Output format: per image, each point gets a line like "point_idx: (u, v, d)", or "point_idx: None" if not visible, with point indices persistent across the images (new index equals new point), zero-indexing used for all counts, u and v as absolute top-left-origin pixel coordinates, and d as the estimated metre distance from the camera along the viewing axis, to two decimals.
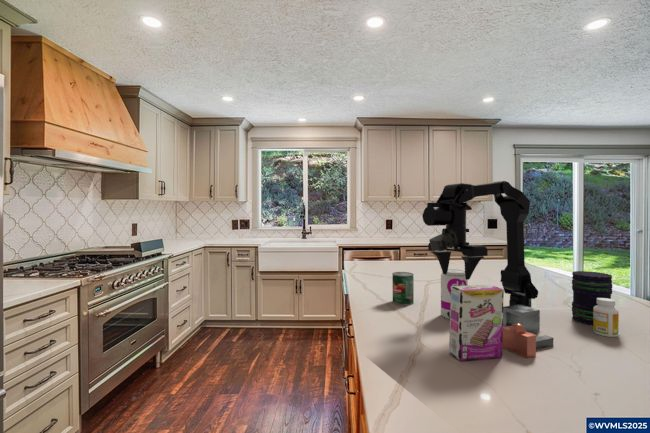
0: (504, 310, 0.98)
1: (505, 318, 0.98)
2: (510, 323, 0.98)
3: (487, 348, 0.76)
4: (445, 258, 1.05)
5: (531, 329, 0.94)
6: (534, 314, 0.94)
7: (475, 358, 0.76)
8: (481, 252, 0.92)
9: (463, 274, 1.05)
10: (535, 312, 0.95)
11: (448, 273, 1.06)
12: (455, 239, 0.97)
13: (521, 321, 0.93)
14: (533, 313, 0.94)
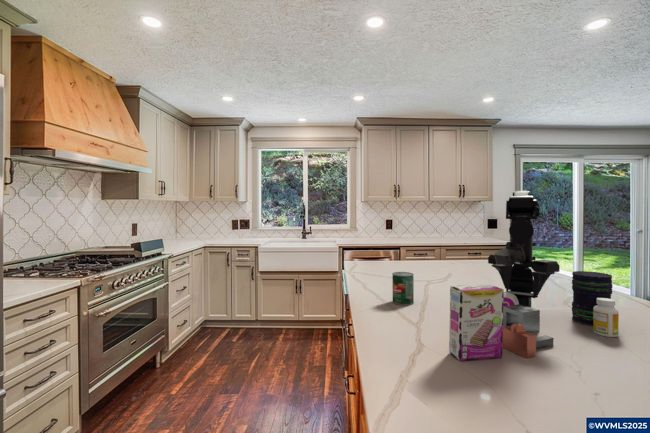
0: (504, 310, 0.98)
1: (505, 318, 0.98)
2: (510, 323, 0.98)
3: (487, 348, 0.76)
4: (507, 271, 1.02)
5: (531, 329, 0.94)
6: (534, 314, 0.94)
7: (475, 358, 0.76)
8: (553, 268, 0.88)
9: None
10: (535, 312, 0.95)
11: (516, 298, 1.05)
12: (523, 254, 0.93)
13: (521, 321, 0.93)
14: (533, 313, 0.94)
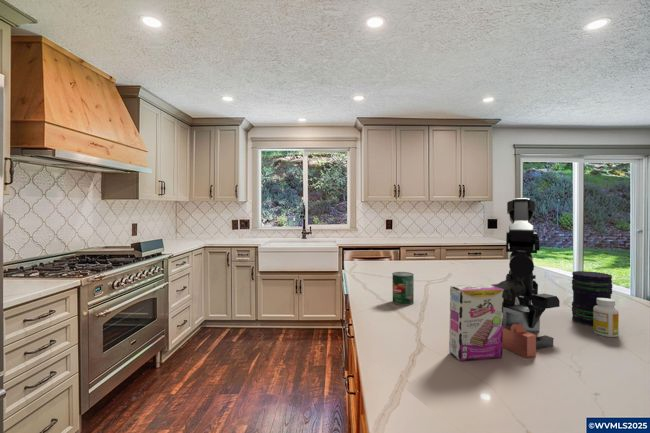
0: (504, 310, 0.98)
1: (505, 318, 0.98)
2: (510, 323, 0.98)
3: (487, 348, 0.76)
4: (510, 303, 1.01)
5: (531, 329, 0.94)
6: None
7: (475, 358, 0.76)
8: (553, 303, 0.88)
9: None
10: None
11: (517, 299, 1.04)
12: (523, 287, 0.93)
13: (521, 321, 0.93)
14: None
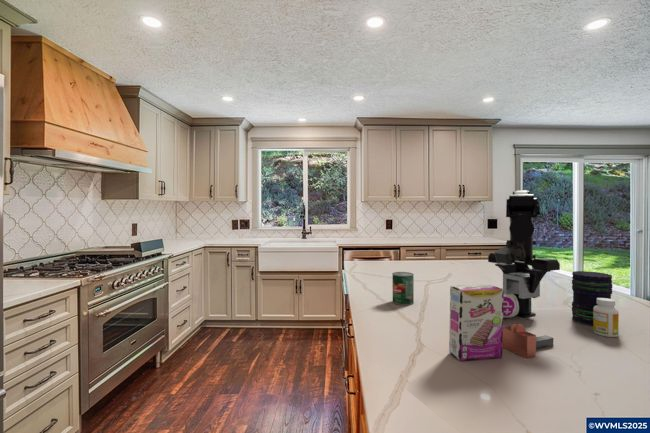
0: (504, 277, 0.98)
1: (505, 285, 0.98)
2: (510, 290, 0.98)
3: (487, 348, 0.76)
4: (511, 271, 1.00)
5: (531, 294, 0.94)
6: None
7: (475, 358, 0.76)
8: (554, 266, 0.88)
9: (516, 312, 1.05)
10: None
11: (515, 298, 1.05)
12: (523, 252, 0.93)
13: (522, 286, 0.93)
14: None
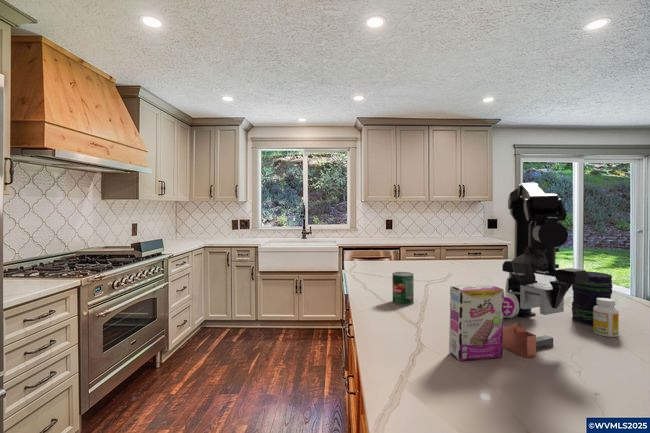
0: (522, 289, 0.85)
1: (523, 298, 0.85)
2: (529, 304, 0.85)
3: (487, 348, 0.76)
4: (529, 281, 0.88)
5: (554, 310, 0.81)
6: None
7: (475, 358, 0.76)
8: (582, 278, 0.76)
9: (516, 313, 1.04)
10: None
11: (515, 298, 1.05)
12: (545, 261, 0.80)
13: (543, 300, 0.80)
14: None
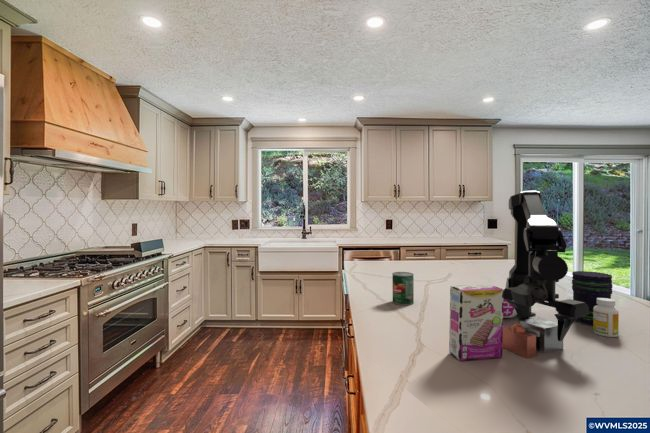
0: (522, 324, 0.85)
1: None
2: None
3: (487, 348, 0.76)
4: (525, 309, 0.89)
5: (554, 347, 0.81)
6: None
7: (475, 358, 0.76)
8: (582, 311, 0.76)
9: (516, 313, 1.04)
10: None
11: None
12: (545, 292, 0.80)
13: (543, 338, 0.80)
14: (556, 329, 0.82)
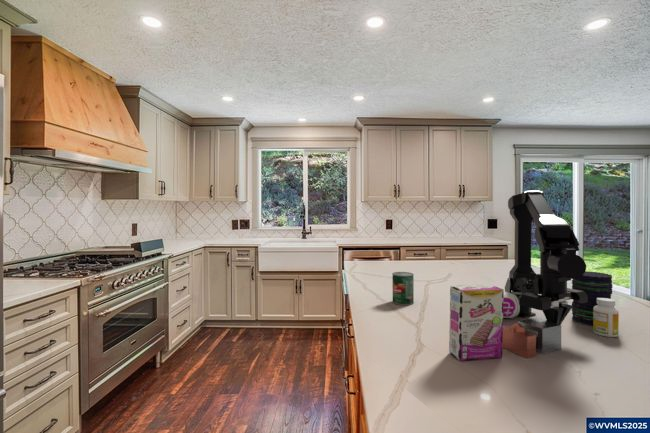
0: None
1: None
2: None
3: (487, 348, 0.76)
4: None
5: (552, 347, 0.81)
6: (555, 330, 0.81)
7: (475, 358, 0.76)
8: (529, 303, 0.82)
9: (517, 313, 1.04)
10: (556, 328, 0.82)
11: (516, 299, 1.05)
12: (535, 285, 0.87)
13: (541, 339, 0.80)
14: (554, 329, 0.81)
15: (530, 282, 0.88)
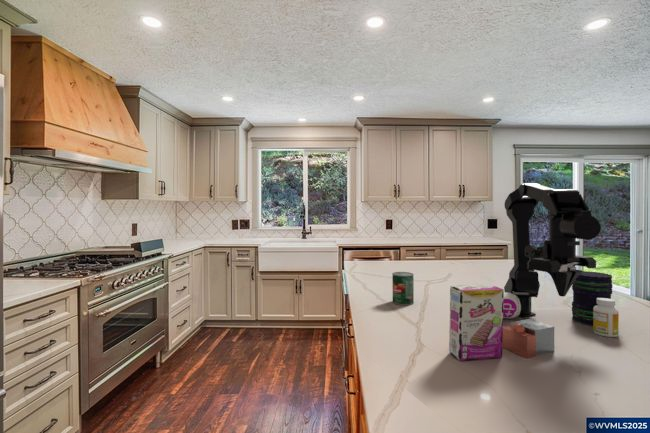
0: None
1: None
2: None
3: (487, 348, 0.76)
4: None
5: (545, 349, 0.80)
6: (548, 332, 0.80)
7: (475, 358, 0.76)
8: (538, 266, 0.83)
9: (517, 315, 1.04)
10: (549, 329, 0.81)
11: (518, 300, 1.04)
12: (544, 251, 0.89)
13: None
14: (547, 330, 0.80)
15: (539, 248, 0.90)
